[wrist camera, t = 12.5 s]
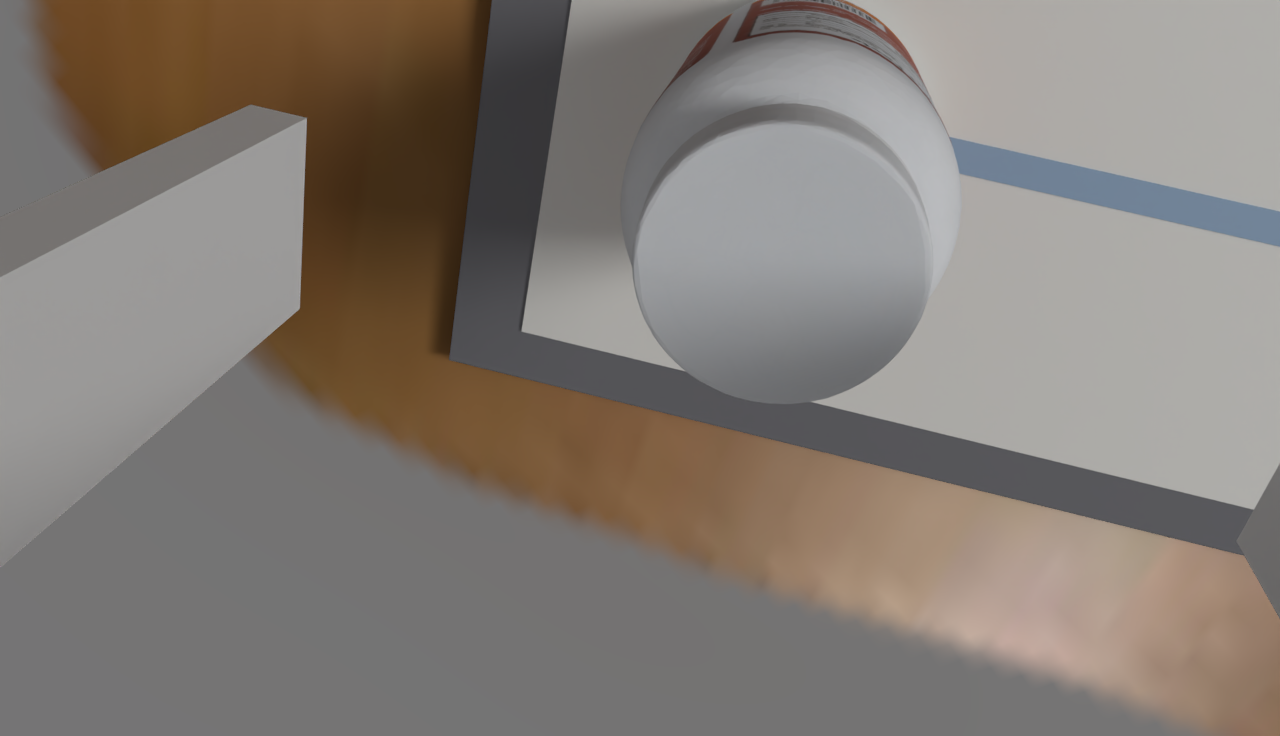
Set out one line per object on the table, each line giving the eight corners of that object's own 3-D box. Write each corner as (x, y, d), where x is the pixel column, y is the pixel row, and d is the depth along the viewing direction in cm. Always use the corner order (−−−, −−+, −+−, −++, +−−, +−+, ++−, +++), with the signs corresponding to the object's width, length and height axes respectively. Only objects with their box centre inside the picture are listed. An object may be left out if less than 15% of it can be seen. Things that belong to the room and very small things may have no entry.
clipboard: (543, -370, 23) (526, -382, 22) (1968, -82, 22) (2037, -79, 20) (455, 351, 32) (440, 371, 30) (1487, 605, 30) (1516, 637, 28)
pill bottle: (737, 276, 28) (688, 498, 18) (629, 63, 26) (508, 184, 17) (965, 176, 26) (1046, 367, 16) (865, -62, 24) (888, -9, 14)
